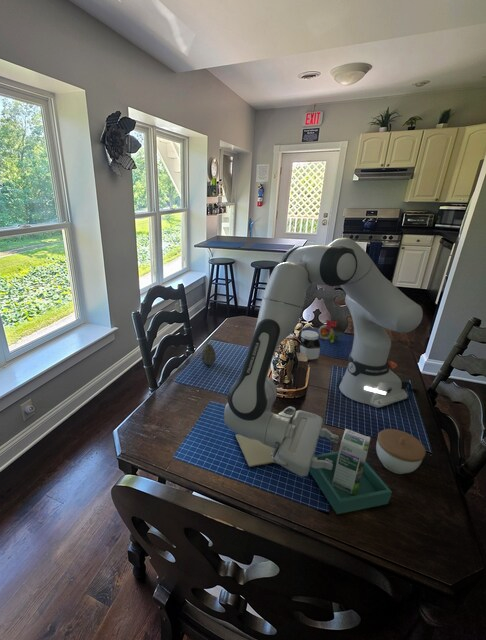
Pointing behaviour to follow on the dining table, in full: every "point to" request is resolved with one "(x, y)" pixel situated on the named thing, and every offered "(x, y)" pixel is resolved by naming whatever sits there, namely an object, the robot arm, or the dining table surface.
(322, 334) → the bird rattle
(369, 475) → the teal green tray
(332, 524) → the dining table surface
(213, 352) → the decorative egg
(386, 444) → the trinket box
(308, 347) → the spread jar
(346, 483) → the syrup box
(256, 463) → the felt mat
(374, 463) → the dining table surface
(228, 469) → the dining table surface
